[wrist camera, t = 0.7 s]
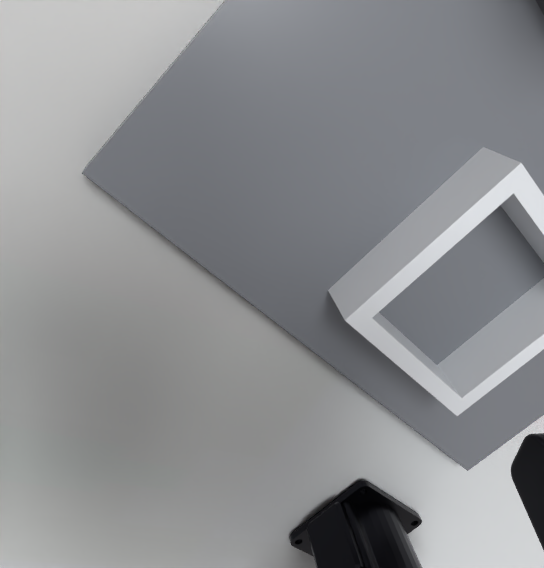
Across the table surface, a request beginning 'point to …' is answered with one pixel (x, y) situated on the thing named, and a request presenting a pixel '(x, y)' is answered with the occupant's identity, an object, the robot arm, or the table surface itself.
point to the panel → (365, 193)
